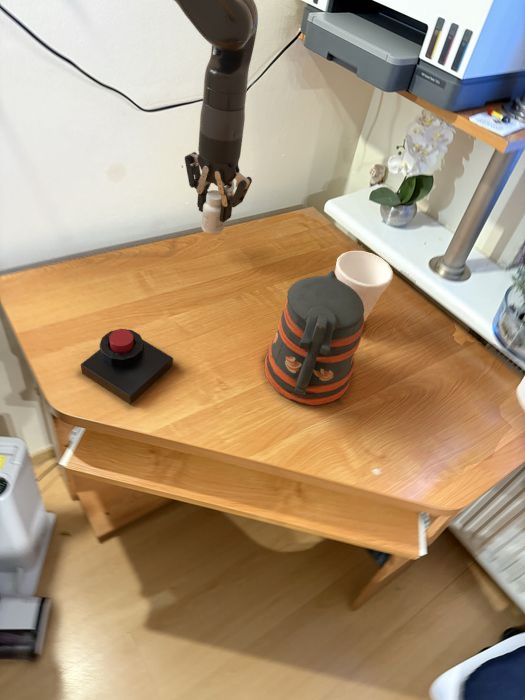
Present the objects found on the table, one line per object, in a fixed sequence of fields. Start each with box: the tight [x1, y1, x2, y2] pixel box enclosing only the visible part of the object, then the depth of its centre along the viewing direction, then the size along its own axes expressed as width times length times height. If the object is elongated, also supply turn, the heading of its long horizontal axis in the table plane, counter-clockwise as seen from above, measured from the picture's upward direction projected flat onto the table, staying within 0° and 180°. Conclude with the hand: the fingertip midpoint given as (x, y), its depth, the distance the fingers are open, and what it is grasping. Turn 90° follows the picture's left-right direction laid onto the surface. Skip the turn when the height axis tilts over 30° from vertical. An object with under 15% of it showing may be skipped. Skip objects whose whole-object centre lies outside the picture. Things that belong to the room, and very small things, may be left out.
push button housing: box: [80, 328, 174, 406], centre depth 81 cm, size 10×10×4 cm
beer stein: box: [264, 270, 366, 406], centre depth 79 cm, size 19×15×20 cm
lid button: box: [109, 328, 134, 354], centre depth 81 cm, size 4×4×2 cm
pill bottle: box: [201, 189, 225, 236], centre depth 101 cm, size 4×4×8 cm
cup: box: [334, 250, 394, 323], centre depth 93 cm, size 10×10×13 cm
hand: (213, 214), depth 101 cm, fingers closed on pill bottle, 4 cm apart
